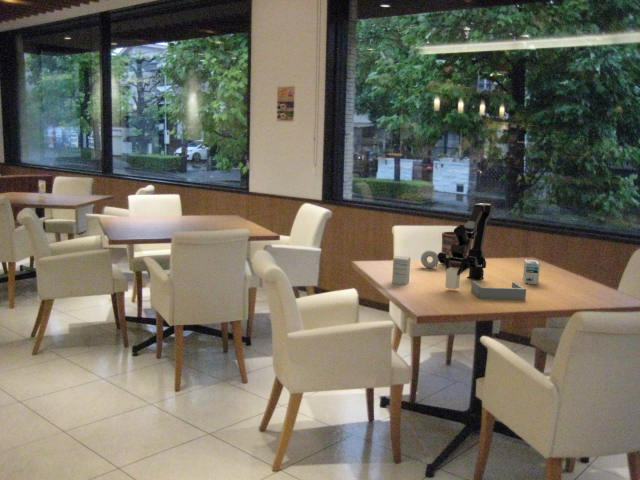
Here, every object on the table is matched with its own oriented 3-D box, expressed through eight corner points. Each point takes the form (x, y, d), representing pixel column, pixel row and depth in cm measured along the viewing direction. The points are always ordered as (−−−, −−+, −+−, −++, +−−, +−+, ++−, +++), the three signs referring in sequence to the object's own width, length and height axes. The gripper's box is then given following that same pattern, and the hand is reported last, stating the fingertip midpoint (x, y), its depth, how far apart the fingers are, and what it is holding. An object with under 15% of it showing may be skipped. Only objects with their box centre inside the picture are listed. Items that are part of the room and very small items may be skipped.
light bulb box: (538, 284, 318) (540, 263, 316) (524, 283, 319) (526, 262, 318) (535, 280, 328) (537, 260, 327) (522, 279, 330) (524, 259, 328)
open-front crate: (471, 291, 299) (471, 280, 298) (514, 292, 300) (515, 282, 299) (479, 298, 285) (480, 287, 284) (525, 299, 286) (526, 289, 285)
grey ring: (438, 268, 349) (440, 250, 347) (437, 269, 345) (439, 251, 344) (420, 266, 352) (422, 249, 350) (419, 267, 349) (420, 250, 347)
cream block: (449, 285, 302) (450, 267, 300) (459, 287, 299) (460, 268, 298) (445, 287, 298) (446, 268, 296) (455, 289, 295) (456, 270, 293)
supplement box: (394, 280, 316) (396, 255, 314) (409, 281, 313) (411, 256, 311) (391, 283, 309) (393, 257, 307) (406, 284, 306) (408, 259, 304)
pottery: (465, 269, 350) (467, 237, 347) (435, 264, 359) (437, 233, 356) (475, 264, 365) (478, 234, 362) (446, 260, 374) (448, 230, 371)
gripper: (440, 235, 303) (429, 261, 295) (477, 240, 293) (468, 267, 286) (445, 249, 311) (434, 275, 303) (482, 254, 301) (472, 281, 293)
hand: (452, 274), depth 296 cm, fingers closed on cream block, 5 cm apart
